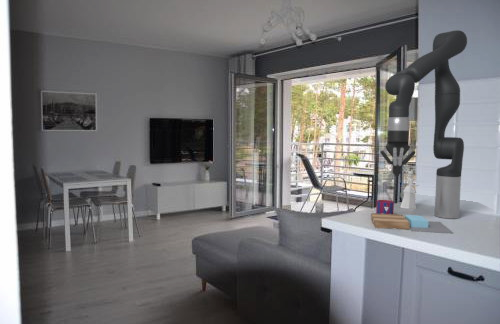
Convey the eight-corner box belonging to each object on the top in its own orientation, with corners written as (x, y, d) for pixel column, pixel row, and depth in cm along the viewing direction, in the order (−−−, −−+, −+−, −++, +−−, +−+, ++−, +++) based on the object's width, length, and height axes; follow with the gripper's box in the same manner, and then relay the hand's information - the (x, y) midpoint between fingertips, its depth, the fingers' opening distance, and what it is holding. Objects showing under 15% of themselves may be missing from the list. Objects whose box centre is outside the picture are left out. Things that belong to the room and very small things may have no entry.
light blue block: (404, 221, 153) (404, 215, 152) (420, 222, 152) (420, 215, 152) (411, 227, 144) (411, 220, 143) (428, 227, 143) (428, 221, 143)
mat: (402, 220, 155) (402, 219, 155) (440, 222, 153) (440, 221, 153) (410, 231, 140) (410, 229, 140) (453, 233, 137) (453, 232, 137)
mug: (377, 218, 159) (378, 202, 158) (373, 213, 169) (374, 198, 168) (394, 219, 158) (395, 202, 157) (389, 214, 168) (390, 198, 167)
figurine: (420, 208, 181) (422, 170, 179) (405, 209, 179) (406, 170, 177) (410, 205, 187) (412, 168, 186) (395, 206, 186) (397, 168, 184)
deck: (370, 219, 157) (371, 213, 157) (402, 220, 155) (402, 214, 155) (375, 227, 144) (375, 221, 144) (409, 229, 142) (409, 222, 141)
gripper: (414, 129, 149) (412, 174, 150) (378, 129, 151) (377, 173, 153) (419, 129, 141) (417, 177, 143) (381, 129, 144) (379, 176, 145)
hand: (396, 175), depth 148 cm, fingers closed
